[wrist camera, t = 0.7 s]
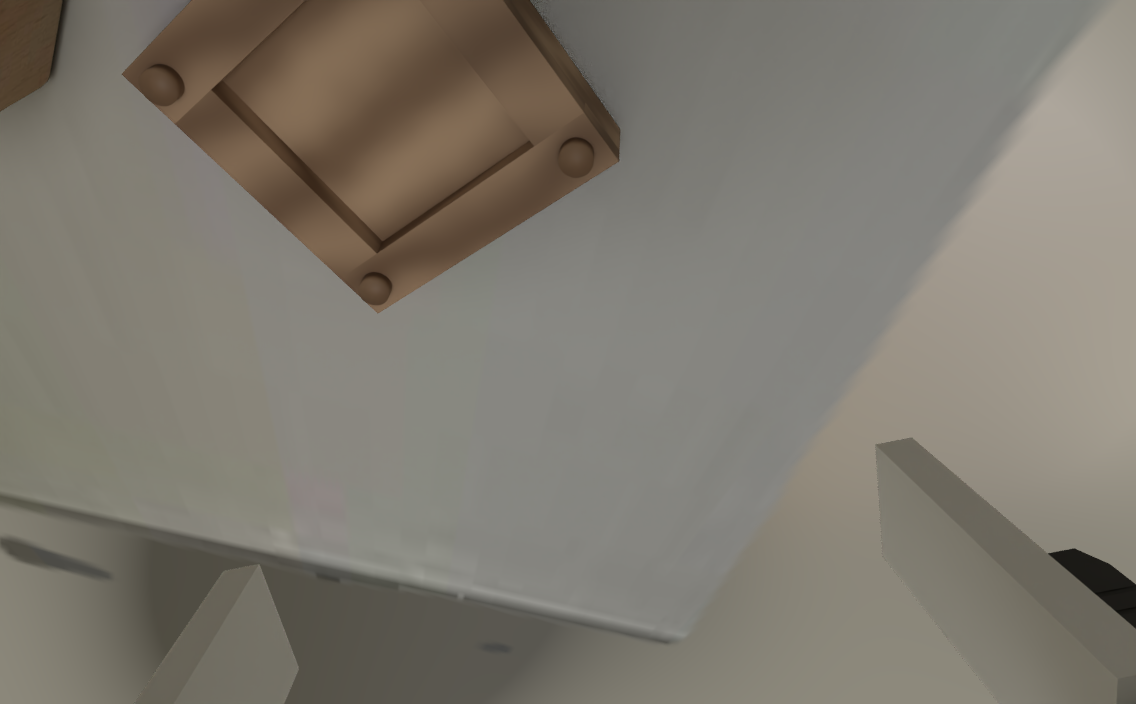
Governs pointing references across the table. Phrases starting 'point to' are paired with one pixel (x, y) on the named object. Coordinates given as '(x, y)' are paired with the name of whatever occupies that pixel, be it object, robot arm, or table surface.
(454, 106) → the base plate
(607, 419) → the table surface
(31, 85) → the wooden block
